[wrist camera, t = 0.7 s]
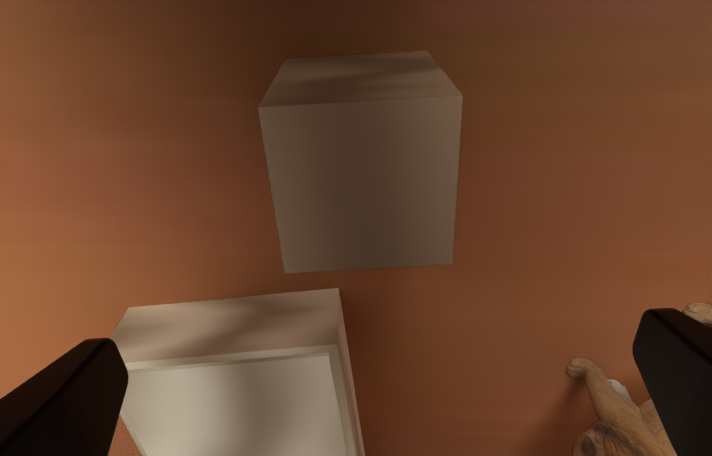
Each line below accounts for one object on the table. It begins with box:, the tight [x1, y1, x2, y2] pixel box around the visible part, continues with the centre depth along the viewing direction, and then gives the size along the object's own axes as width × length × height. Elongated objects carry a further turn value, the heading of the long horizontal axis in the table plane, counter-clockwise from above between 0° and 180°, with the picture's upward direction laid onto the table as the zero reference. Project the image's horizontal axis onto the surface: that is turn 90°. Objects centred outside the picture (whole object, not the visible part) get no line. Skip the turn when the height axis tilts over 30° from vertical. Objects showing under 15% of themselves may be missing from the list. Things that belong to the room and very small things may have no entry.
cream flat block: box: [110, 288, 365, 456], centre depth 24 cm, size 10×14×4 cm
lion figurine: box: [566, 303, 712, 456], centre depth 20 cm, size 15×5×9 cm, turn 133°
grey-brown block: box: [258, 50, 463, 274], centre depth 15 cm, size 5×5×6 cm
